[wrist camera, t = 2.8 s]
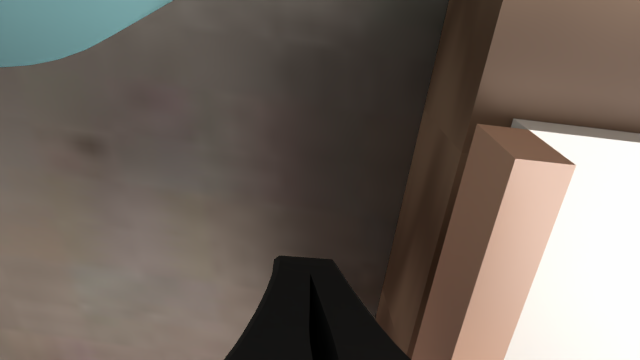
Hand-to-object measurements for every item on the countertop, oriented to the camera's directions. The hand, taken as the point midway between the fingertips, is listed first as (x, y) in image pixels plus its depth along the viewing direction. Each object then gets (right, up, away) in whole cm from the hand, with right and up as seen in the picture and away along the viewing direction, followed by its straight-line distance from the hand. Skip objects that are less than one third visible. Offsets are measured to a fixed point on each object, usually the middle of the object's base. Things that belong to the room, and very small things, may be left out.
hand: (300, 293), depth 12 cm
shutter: (+8, 0, +2) cm, 8 cm away
